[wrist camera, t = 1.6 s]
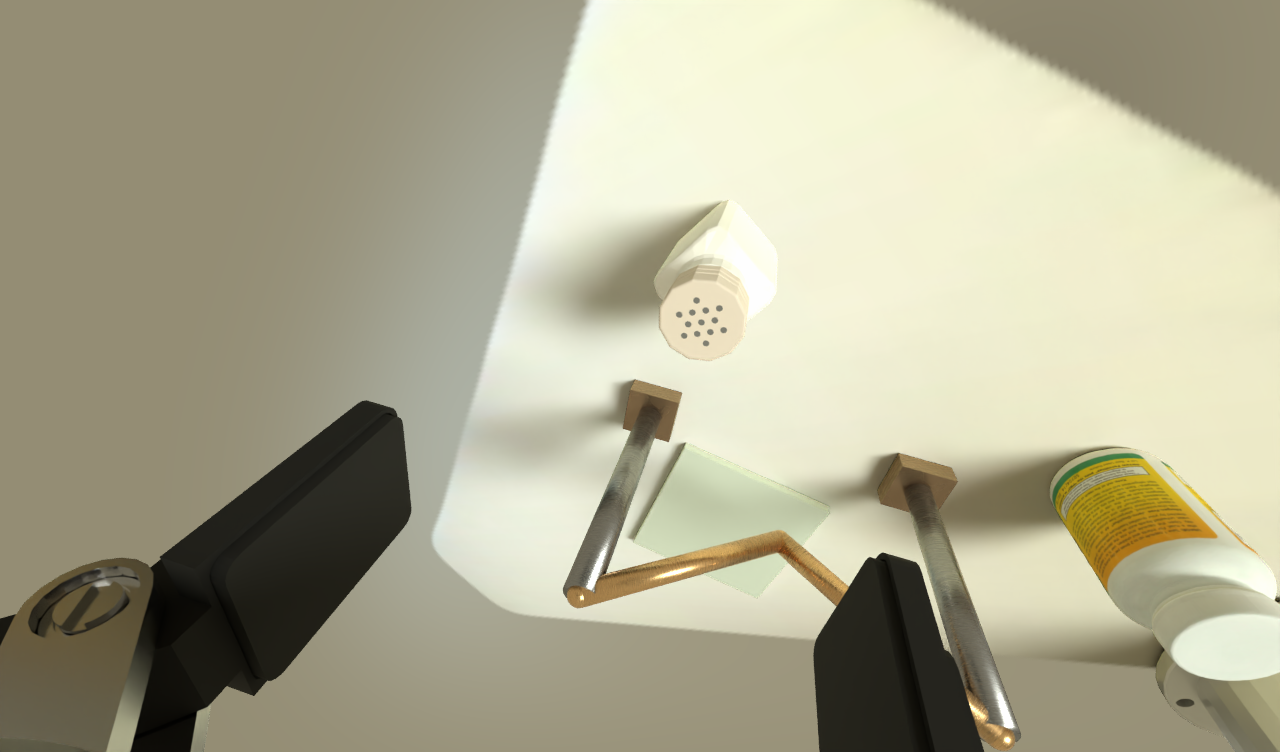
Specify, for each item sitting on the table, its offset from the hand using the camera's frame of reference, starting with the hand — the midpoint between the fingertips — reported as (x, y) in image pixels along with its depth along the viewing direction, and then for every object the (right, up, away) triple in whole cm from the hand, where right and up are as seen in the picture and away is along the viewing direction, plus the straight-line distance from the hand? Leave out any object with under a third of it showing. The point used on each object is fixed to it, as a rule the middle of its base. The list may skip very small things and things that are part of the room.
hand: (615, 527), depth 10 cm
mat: (+6, -7, +25) cm, 27 cm away
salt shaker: (+5, +10, +16) cm, 20 cm away
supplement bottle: (+26, -3, +18) cm, 31 cm away
